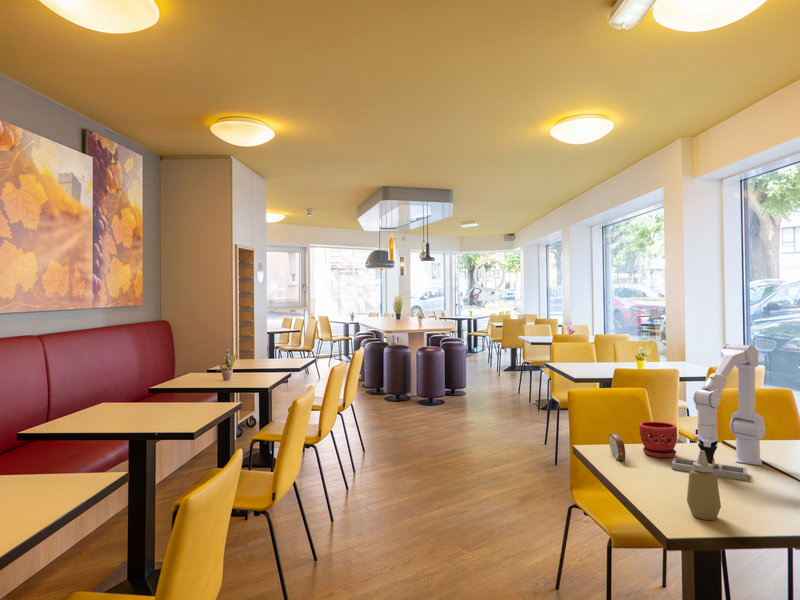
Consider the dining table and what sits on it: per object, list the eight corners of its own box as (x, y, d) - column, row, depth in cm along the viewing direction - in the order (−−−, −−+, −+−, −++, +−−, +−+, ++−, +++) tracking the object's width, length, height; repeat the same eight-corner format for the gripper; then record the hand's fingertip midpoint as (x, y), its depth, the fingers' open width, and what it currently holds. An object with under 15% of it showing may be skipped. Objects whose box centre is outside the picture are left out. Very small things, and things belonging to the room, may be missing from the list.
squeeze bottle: (680, 510, 137) (678, 447, 137) (707, 509, 138) (705, 446, 138) (700, 523, 129) (698, 455, 129) (728, 522, 129) (727, 454, 130)
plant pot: (678, 452, 192) (677, 422, 192) (676, 461, 181) (675, 429, 181) (641, 448, 199) (641, 419, 199) (638, 456, 188) (637, 425, 188)
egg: (701, 464, 172) (701, 451, 173) (715, 466, 170) (714, 453, 170) (701, 467, 169) (701, 454, 169) (714, 469, 167) (714, 456, 167)
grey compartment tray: (673, 463, 179) (673, 457, 179) (746, 473, 167) (746, 467, 167) (671, 469, 172) (671, 463, 173) (747, 480, 160) (747, 474, 160)
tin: (626, 463, 180) (626, 440, 180) (617, 463, 180) (616, 440, 180) (616, 451, 194) (616, 430, 194) (608, 451, 195) (608, 430, 195)
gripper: (695, 418, 178) (696, 455, 178) (693, 426, 166) (693, 466, 166) (718, 421, 174) (719, 458, 174) (717, 429, 162) (718, 470, 162)
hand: (708, 462), depth 170 cm, fingers closed on egg, 4 cm apart
